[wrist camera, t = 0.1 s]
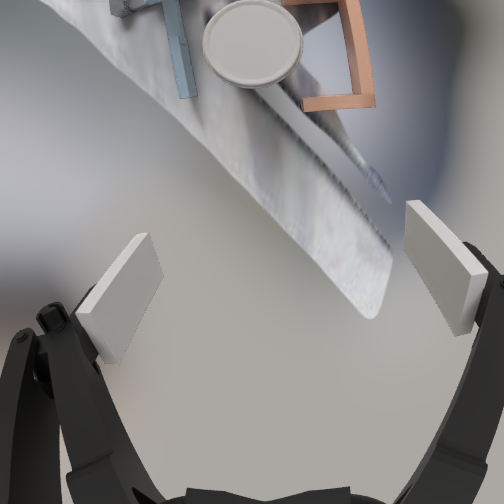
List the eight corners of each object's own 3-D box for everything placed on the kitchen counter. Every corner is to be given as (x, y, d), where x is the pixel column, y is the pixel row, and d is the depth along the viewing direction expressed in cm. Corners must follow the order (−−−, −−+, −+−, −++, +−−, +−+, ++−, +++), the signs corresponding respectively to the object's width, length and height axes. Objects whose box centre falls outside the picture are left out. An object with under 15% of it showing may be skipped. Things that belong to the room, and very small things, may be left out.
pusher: (150, -11, 29) (113, -34, 19) (193, -24, 28) (167, -54, 18) (171, 101, 37) (137, 108, 28) (215, 91, 37) (193, 93, 27)
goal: (280, -5, 30) (281, -15, 26) (346, -8, 28) (354, -18, 24) (301, 109, 37) (304, 112, 33) (365, 104, 36) (375, 107, 32)
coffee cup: (309, 66, 34) (323, 58, 24) (247, 102, 37) (235, 107, 27) (270, 9, 31) (267, -19, 20) (207, 46, 34) (181, 31, 23)
